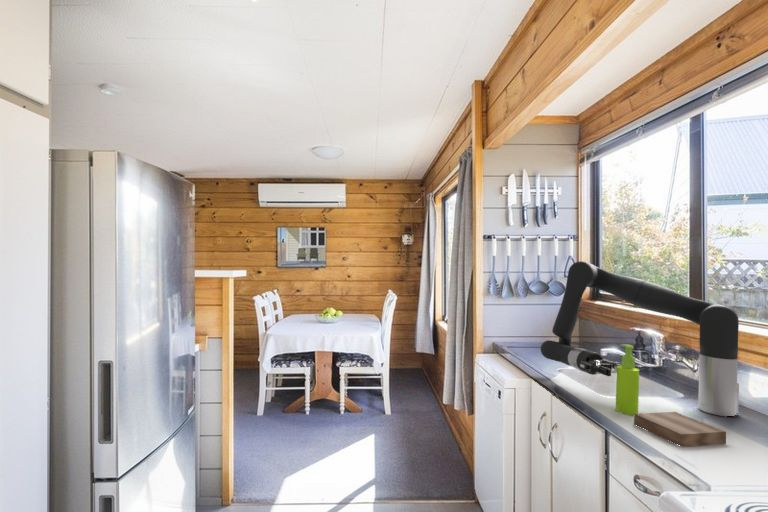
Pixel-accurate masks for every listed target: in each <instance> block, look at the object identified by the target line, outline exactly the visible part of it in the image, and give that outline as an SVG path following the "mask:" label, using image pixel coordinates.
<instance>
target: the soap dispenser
mask: <svg viewBox="0 0 768 512" xmlns="http://www.w3.org/2000/svg"><path fill="white" fill-rule="evenodd" d="M620 346H621V347H624V348H625V349H624V350H625V351H624V352H625V353H624V354H623V355H622V356H621V363H622V366H617V373H616V384H615V385H616V386H615V411H616V410H617V411H616V412H618V411H619V412H618V413H620V412H621V413H620V414H623V413H624V414H623V415H629V416H634V414H639V400H640V399H639V396H640V395H639V394H640V393H639V392H640V391H639V390H640V369H639V368H637V367H635V365H636V357H635V356H634V355H633V350H634V349H635V347H634V346H633V345H632V344H627V343H621V344H620Z"/></svg>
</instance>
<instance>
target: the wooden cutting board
mask: <svg viewBox="0 0 768 512" xmlns="http://www.w3.org/2000/svg"><path fill="white" fill-rule="evenodd" d="M633 425H634V426H636V425H637V426H636V427H638V426H639V427H638V428H640V427H641V428H640V429H642V428H644V429H646V430H648V431H647V432H649V433H651V434H653V435H655V436H656V437H659V436H660V437H659V438H661V437H662V439H663V438H664V440H666V441H668V440H669V441H668V442H670V441H671V442H670V443H672V442H673V443H672V444H674V443H675V444H674V445H676V444H678V445H680V446H686V447H696V446H698V445H699V447H700V446H712V445H725V444H727V431H725V430H723V429H722V428H721V429H720V428H718V427H717V426H716V427H715V426H713V425H711V424H708V423H705V422H702V421H701V420H700V421H699V420H697V419H694V418H692V417H689V416H687V415H684V414H682V413H679V412H676V411H668V412H666V411H665V412H664V411H662V412H645V413H644V412H642V413H641V412H640V413H639V412H638V414H634V415H633ZM644 429H643V430H644ZM646 430H645V431H646ZM678 445H677V446H678ZM680 446H679V447H680Z"/></svg>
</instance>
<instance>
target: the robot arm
mask: <svg viewBox="0 0 768 512" xmlns="http://www.w3.org/2000/svg"><path fill="white" fill-rule="evenodd" d="M567 273H568V274H567V277H566V283H565V289H564V293H563V297H562V301H561V304H560V307H559V310H558V312H557V315H556V318H555V321H554V324H553V326H552V330H551V331H552V334H553V335H555V336H557V337H558V341H555V340H552V339H551V340H549V339H548V340H544V342H543V343H541V346H540V353H541V355H542V356H543V358H546V359H548V360H551V361H555V362H560V363H562V364H564V365H567V366H569V367H572V368H574V369H576V370H578V371H580V372H583V373H586V374H589V375H600V374H601V375H604V376H606V377H611V376H612V374H617V366H622V362H619V361H616V360H612V361H611V360H608V359H603V357H602V355H601V354H599V353H598V352H595V351H592V350H588V349H585V348H582V347H581V348H580V347H575V346H572V337H573V332H574V330H575V327H576V325H577V324H576V323H577V320H578V318H579V311H580V306H581V305H580V304H581V301H582V298H583V295H584V293H585V291H586V289H587V288H591V289H595V290H599V291H603V292H606V293H609V294H610V295H612V296H614V297H616V298H618V299H621V300H622V301H625V302H626V303H629V304H632V305H634V306H636V307H639V308H641V309H642V308H643V309H644V310H648V311H652V312H654V313H659V314H662V315H663V314H664V315H670V316H674V317H677V318H678V317H679V318H682V319H684V320H687V321H690V322H691V323H693V324H694V323H695V324H697V325H699V339H698V340H699V342H698V343H699V344H698V345H699V361H698V362H699V364H698V365H699V368H698V370H699V371H698V400H697V401H698V402H697V403H698V404H697V408H698V410H700V411H703V412H704V413H708V414H711V415H715V416H721V417H727V416H734V415H736V416H737V414H736V413H738V414H739V400H740V399H739V396H740V395H739V393H740V384H739V383H738V358H739V357H738V356H739V326H740V325H739V322H740V321H739V317H738V314H737V312H736V311H735V310H734V309H732V307H729V306H727V305H724V304H720V303H719V304H718V303H715V302H714V303H713V302H710V301H705V300H701V299H696V298H694V297H690V296H687V295H685V294H682V293H679V292H677V291H675V290H673V289H670V288H668V287H666V286H662V285H660V284H657V283H654V282H651V281H647V280H644V279H641V278H635V277H633V276H626V275H621V274H616V273H614V272H611V271H608V270H605V269H603V268H601V267H599V266H596V265H594V264H592V263H590V262H587V261H582V260H581V261H576V262H574V263H572V264H571V265H570V267H569V269H568V271H567ZM734 417H735V416H734Z"/></svg>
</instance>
